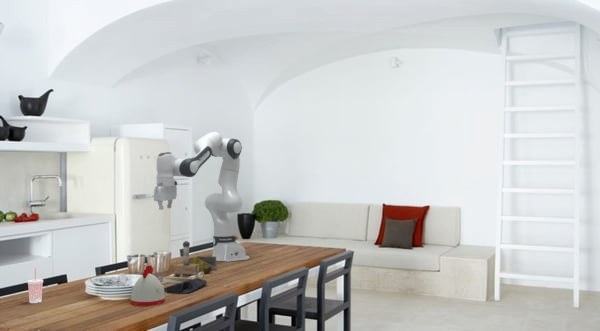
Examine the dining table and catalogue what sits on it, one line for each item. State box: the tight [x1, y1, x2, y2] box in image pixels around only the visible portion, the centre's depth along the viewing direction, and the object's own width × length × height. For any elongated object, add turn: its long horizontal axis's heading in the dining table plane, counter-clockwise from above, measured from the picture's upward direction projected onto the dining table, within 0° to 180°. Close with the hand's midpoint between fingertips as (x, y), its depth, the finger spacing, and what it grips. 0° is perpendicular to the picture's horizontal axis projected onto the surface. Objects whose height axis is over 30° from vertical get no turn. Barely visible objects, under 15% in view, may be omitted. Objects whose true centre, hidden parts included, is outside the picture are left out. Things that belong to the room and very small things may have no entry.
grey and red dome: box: [130, 265, 166, 307], centre depth 257 cm, size 14×14×15 cm
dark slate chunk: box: [164, 278, 208, 295], centre depth 283 cm, size 15×22×5 cm
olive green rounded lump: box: [189, 256, 212, 274], centre depth 322 cm, size 8×13×8 cm, turn 57°
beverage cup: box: [27, 267, 44, 304], centre depth 257 cm, size 6×6×14 cm
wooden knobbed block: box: [173, 240, 199, 277], centre depth 307 cm, size 7×11×18 cm, turn 76°
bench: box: [162, 255, 217, 284], centre depth 314 cm, size 39×14×7 cm, turn 166°
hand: (165, 208), depth 327 cm, fingers open, 8 cm apart
